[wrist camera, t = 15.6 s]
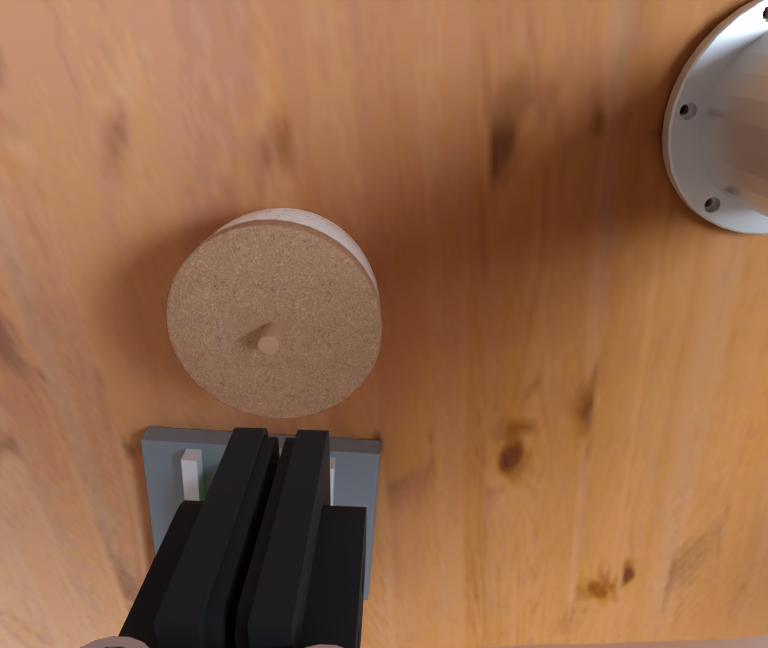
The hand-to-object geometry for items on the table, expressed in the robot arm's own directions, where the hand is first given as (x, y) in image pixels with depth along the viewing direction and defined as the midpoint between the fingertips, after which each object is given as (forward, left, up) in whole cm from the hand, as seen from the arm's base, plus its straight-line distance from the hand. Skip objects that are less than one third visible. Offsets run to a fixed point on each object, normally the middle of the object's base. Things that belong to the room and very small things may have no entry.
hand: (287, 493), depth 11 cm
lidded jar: (+3, +6, -26) cm, 27 cm away
